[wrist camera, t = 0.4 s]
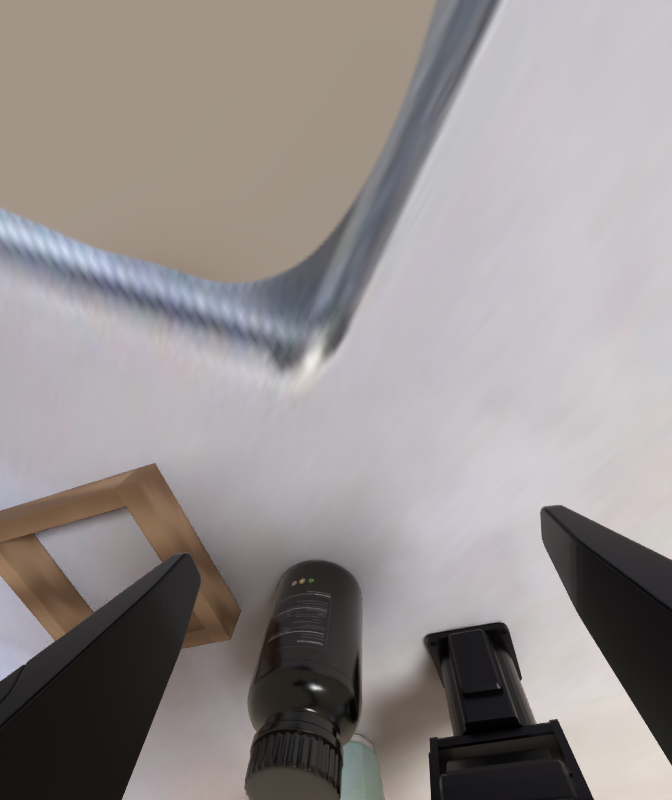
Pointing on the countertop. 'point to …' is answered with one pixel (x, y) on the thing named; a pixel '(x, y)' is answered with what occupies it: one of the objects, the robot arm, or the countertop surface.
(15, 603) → the countertop surface
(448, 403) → the countertop surface
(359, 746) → the disposable coffee cup
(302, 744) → the supplement bottle
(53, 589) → the square wooden frame
